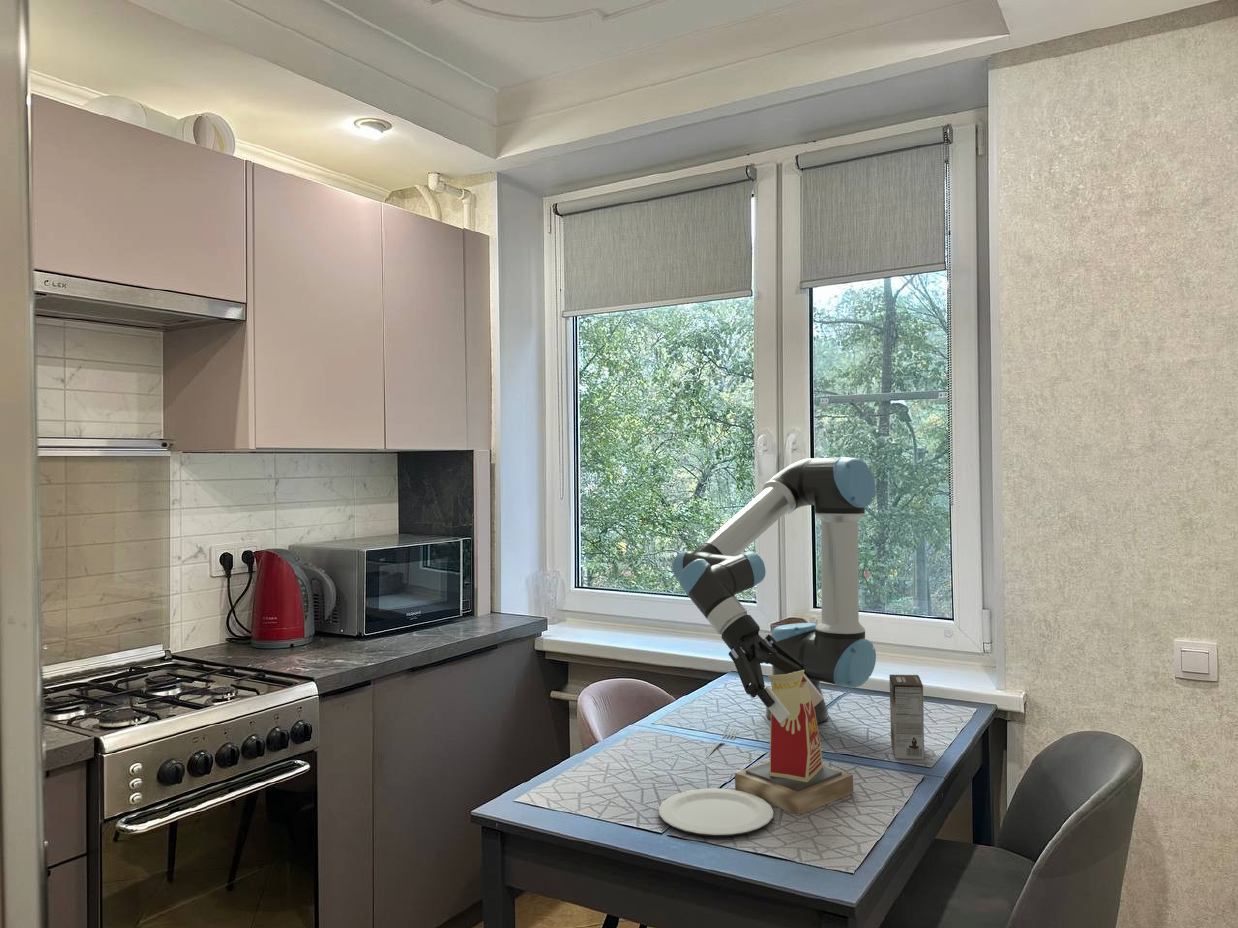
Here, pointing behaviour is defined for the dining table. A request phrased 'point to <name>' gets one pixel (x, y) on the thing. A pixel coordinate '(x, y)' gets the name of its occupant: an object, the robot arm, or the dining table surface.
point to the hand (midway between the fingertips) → (802, 710)
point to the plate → (716, 812)
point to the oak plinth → (794, 788)
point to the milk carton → (794, 731)
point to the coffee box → (907, 716)
